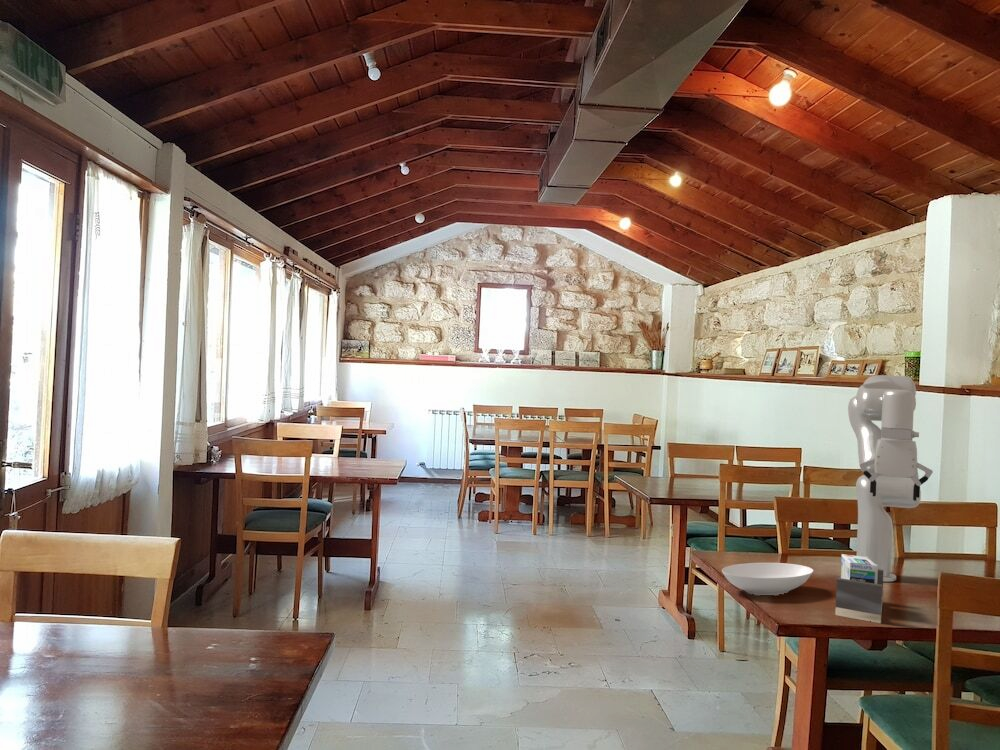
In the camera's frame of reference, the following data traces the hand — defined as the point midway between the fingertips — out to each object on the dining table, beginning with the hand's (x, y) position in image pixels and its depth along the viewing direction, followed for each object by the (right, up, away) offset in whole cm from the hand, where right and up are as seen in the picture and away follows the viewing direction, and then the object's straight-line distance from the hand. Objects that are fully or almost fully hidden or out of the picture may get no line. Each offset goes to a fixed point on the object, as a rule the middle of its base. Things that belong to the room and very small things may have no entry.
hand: (894, 497), depth 191 cm
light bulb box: (-15, -25, -9) cm, 31 cm away
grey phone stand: (-14, -27, -9) cm, 32 cm away
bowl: (-33, -27, +3) cm, 43 cm away
